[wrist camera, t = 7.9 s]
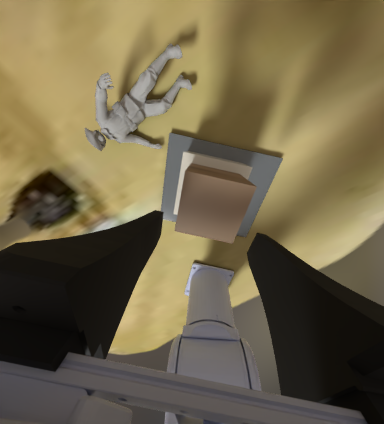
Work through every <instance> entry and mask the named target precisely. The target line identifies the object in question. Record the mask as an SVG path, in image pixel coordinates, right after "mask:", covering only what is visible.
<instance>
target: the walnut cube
mask: <svg viewBox="0 0 384 424" xmlns="http://www.w3.org/2000/svg"><path fill="white" fill-rule="evenodd" d="M256 188H257V186H255V185H254V184H253V183H251V182H250V181H249V180H247V179H246V178H245V177H243V176H242V175H241V174H238V173H234V172H229V171H225V170H220V169H216V168H212V167H207V166H203V165H198V164H194V163H191V164H190V165H189V166H188V168H187V169H186V170H185V174H184V180H183V185H182V191H181V197H180V203H179V208H178V214H177V220H176V225H175V231H177V232H181V233H186V234H190V235H195V236H200V237H204V238H209V239H213V240H218V241H223V242H227V243H232V244H233V242H234V239H235V237H236V235H237V232H238V230H239V228H240V225H241V223H242V221H243V218H244V216H245V214H246V211H247V209H248V206H249V204H250V202H251V199H252V197H253V195H254V192H255V190H256Z"/></svg>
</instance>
